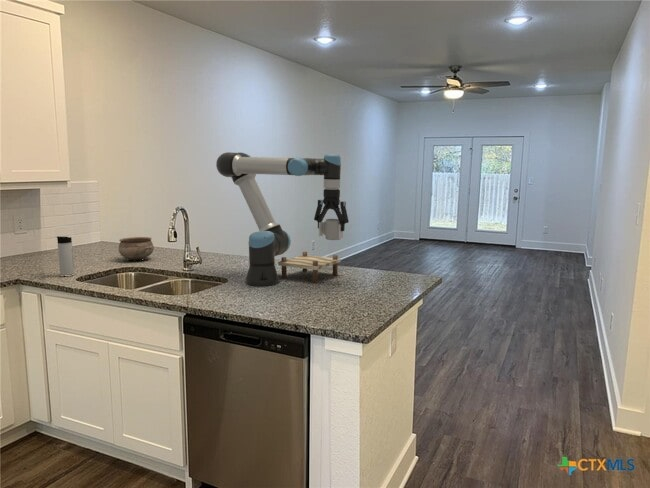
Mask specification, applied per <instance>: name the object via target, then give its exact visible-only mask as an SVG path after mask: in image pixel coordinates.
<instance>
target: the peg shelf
mask: <svg viewBox="0 0 650 488" xmlns="http://www.w3.org/2000/svg"><path fill="white" fill-rule="evenodd" d="M338 263H341V259H340V258H339V257H338V254H332V257H326V256H325V257H324V256H314V255H308V251H302V255H300V256H295V257H292V258H288V259H287V257H285V256H283V257H281V261H278V262H277V265H278V266H280V267H281V279H287V278H288V275H287V273H288V271H287V267H292V268H297V269H298V268H299V269H302V272H304V273H306V271H307V272H308V270H312V283H313V284H318V283H319V270H321V269H324V268H327V267H329V266H332V276H336V277H337V276H338V273H339V272H338V265H339V264H338Z"/></svg>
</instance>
